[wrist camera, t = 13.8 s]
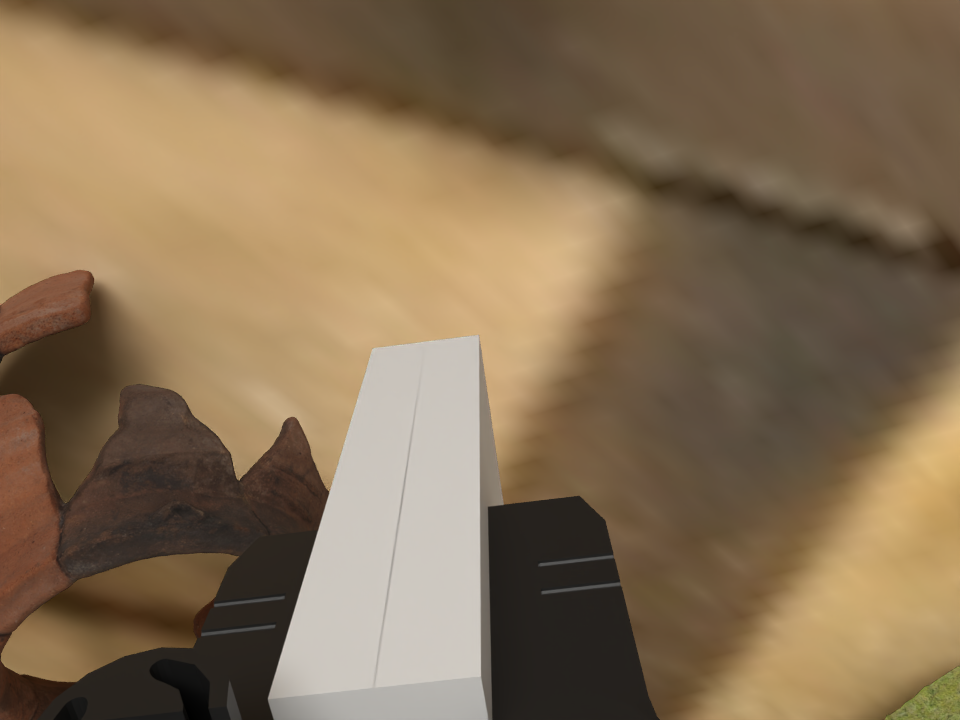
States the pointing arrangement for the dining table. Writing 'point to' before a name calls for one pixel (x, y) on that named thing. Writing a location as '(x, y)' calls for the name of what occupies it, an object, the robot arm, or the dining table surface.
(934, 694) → the green disc
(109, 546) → the pottery mug
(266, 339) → the dining table surface
